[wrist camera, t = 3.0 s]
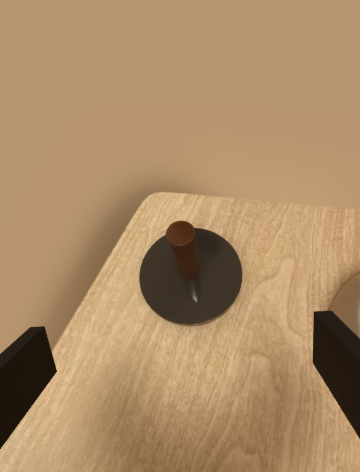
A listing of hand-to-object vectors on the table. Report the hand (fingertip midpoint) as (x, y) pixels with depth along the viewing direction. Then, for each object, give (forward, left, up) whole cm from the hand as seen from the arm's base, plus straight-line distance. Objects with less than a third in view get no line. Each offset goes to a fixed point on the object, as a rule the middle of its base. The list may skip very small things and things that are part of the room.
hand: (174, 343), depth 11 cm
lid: (-2, +10, -15) cm, 18 cm away
